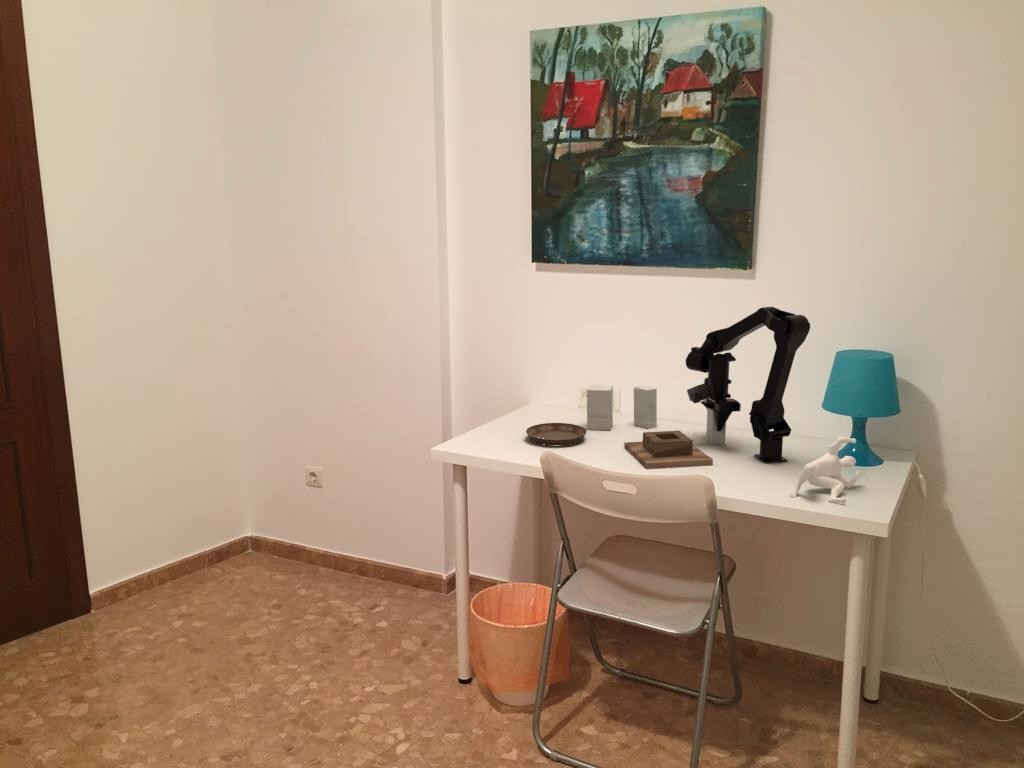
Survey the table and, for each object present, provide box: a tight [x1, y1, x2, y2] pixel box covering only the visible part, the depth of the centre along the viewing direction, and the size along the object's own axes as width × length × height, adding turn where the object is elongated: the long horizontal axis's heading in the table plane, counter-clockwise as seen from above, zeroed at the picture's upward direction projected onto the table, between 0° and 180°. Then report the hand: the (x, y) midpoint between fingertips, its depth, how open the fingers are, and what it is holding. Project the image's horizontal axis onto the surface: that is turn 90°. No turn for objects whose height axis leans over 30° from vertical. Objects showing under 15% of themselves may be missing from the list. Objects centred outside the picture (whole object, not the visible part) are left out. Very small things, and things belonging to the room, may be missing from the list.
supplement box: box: [586, 384, 614, 431], centre depth 256 cm, size 7×7×13 cm
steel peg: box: [705, 407, 727, 446], centre depth 238 cm, size 4×4×10 cm
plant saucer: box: [525, 422, 588, 446], centre depth 244 cm, size 18×18×3 cm
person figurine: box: [789, 436, 863, 505], centre depth 197 cm, size 13×13×18 cm
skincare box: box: [633, 385, 658, 429], centre depth 257 cm, size 6×4×12 cm
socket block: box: [623, 430, 714, 470], centre depth 226 cm, size 20×18×6 cm
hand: (716, 429), depth 238 cm, fingers closed on steel peg, 4 cm apart
